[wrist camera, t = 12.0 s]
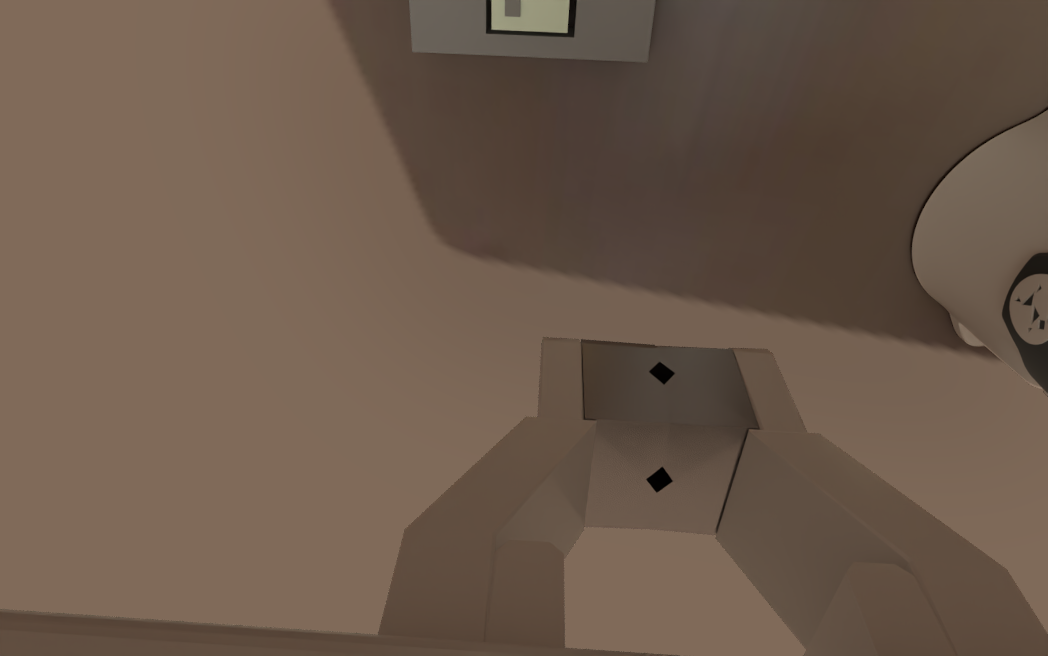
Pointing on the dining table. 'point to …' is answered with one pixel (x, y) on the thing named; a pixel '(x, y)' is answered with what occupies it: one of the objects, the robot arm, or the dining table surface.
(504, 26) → the button two
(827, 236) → the dining table surface
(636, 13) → the button panel
